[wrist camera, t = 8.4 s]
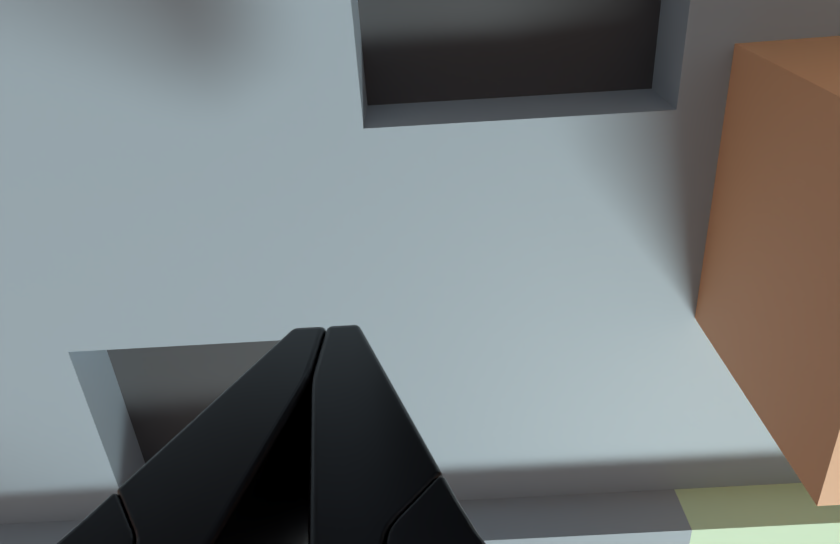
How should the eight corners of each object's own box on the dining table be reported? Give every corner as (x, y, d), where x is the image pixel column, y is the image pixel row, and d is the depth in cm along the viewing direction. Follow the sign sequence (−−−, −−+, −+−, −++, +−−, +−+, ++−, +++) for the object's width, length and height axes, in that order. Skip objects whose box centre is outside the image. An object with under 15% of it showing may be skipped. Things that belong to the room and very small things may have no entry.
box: (916, 457, 17) (995, 546, 15) (-59, 508, 17) (-130, 603, 15) (1235, -346, 10) (1489, -415, 7) (-471, -231, 10) (-730, -262, 8)
